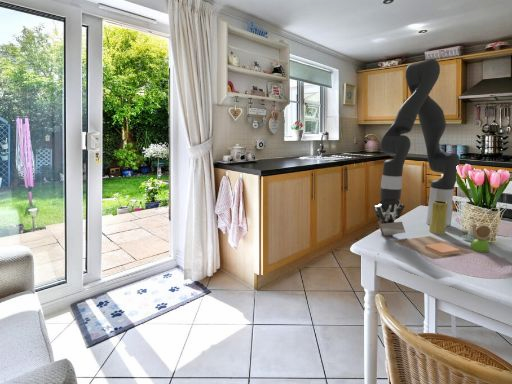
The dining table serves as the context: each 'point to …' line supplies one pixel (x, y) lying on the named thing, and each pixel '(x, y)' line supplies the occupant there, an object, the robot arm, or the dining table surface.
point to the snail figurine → (480, 238)
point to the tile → (442, 249)
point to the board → (420, 243)
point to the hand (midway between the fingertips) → (387, 228)
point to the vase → (438, 217)
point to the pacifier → (469, 236)
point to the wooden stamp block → (391, 228)
